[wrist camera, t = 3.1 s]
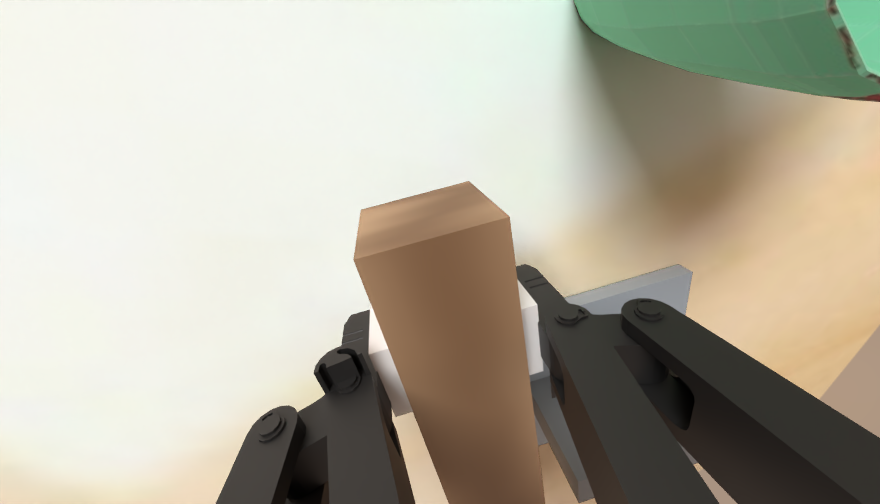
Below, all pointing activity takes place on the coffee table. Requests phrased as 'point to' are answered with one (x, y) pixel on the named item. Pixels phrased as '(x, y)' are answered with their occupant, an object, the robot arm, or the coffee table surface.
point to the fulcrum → (604, 300)
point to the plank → (456, 337)
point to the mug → (753, 40)
